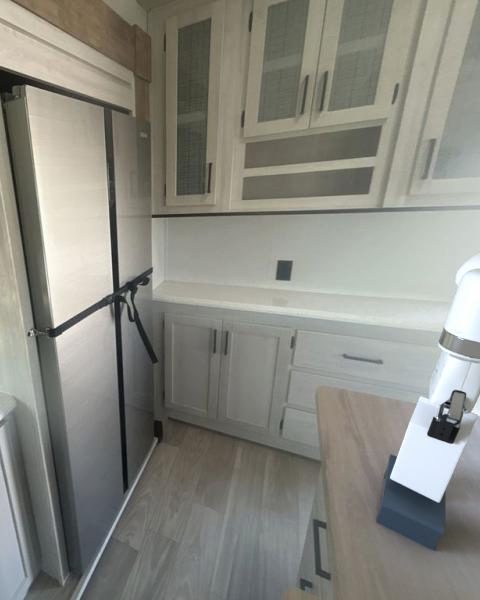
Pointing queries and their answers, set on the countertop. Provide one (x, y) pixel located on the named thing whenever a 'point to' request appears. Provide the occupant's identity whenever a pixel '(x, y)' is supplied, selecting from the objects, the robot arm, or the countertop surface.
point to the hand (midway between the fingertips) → (440, 425)
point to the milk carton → (429, 453)
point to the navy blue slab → (411, 511)
